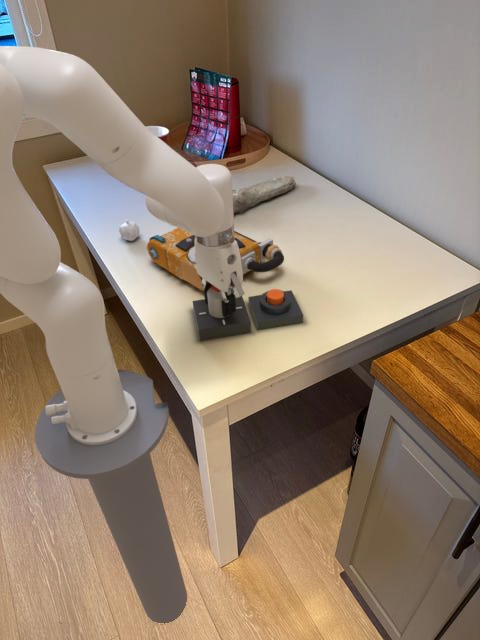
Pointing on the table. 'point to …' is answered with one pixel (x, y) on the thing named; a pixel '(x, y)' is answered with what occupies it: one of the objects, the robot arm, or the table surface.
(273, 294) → the power button
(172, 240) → the device
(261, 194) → the elongated rock
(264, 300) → the button block
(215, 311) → the timer dial
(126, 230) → the garlic
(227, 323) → the timer panel
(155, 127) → the plastic cup
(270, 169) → the table surface
